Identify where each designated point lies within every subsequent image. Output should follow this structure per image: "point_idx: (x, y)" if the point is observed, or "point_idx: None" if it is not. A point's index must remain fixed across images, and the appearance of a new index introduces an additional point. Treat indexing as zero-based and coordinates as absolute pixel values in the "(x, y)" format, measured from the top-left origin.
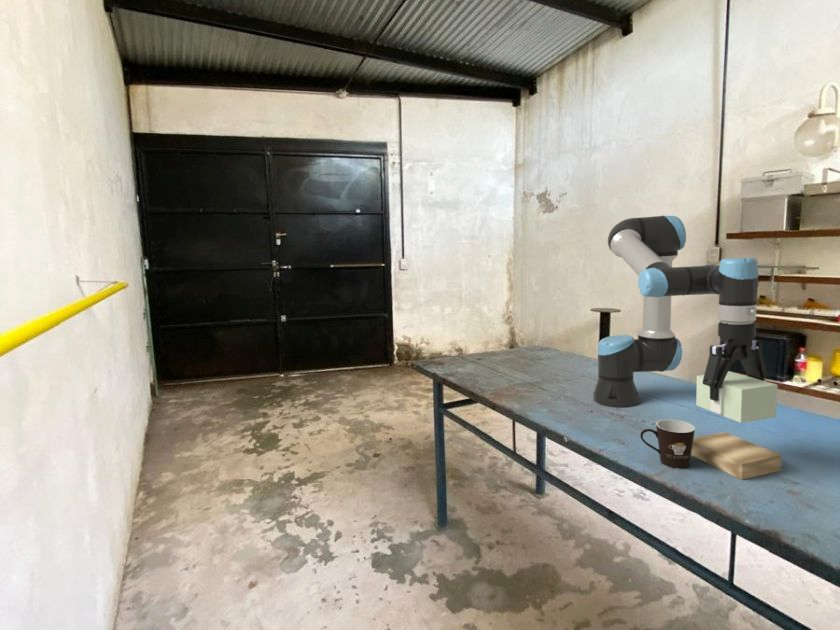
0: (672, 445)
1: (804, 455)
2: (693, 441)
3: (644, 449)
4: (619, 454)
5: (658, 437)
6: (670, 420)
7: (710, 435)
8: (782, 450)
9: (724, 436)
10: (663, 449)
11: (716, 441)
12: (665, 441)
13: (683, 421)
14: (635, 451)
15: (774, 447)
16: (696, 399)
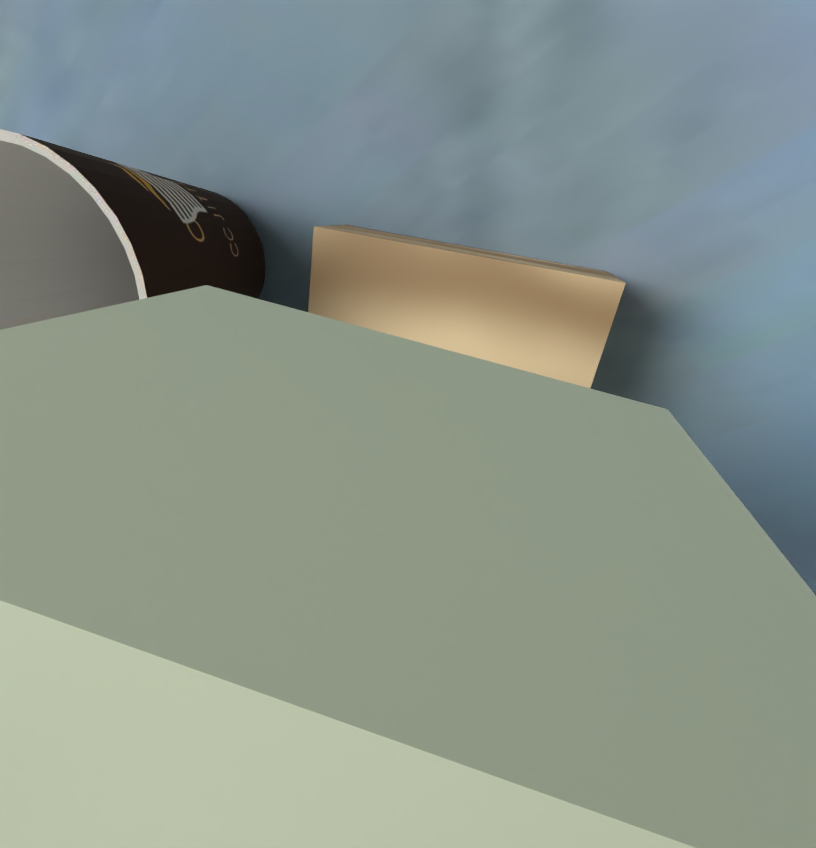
0: (56, 314)
1: (789, 549)
2: (313, 264)
3: (177, 34)
4: (16, 11)
5: (12, 212)
6: (67, 172)
7: (486, 265)
8: (786, 473)
9: (542, 326)
10: (73, 255)
11: (425, 342)
12: (19, 280)
13: (134, 260)
14: (115, 28)
15: (806, 436)
16: (155, 299)
